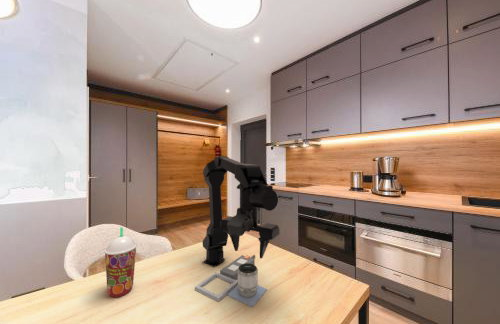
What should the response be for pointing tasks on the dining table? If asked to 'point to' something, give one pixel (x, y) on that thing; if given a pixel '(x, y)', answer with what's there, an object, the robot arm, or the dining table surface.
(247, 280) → the camera lens
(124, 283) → the smoothie
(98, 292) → the dining table surface
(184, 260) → the dining table surface
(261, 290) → the mat
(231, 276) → the grey frame with handle
